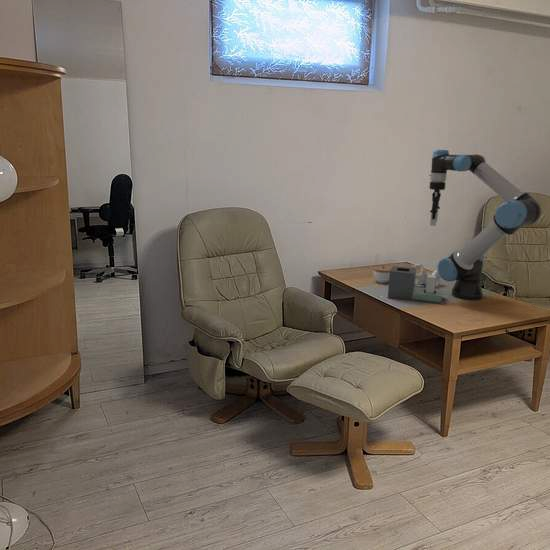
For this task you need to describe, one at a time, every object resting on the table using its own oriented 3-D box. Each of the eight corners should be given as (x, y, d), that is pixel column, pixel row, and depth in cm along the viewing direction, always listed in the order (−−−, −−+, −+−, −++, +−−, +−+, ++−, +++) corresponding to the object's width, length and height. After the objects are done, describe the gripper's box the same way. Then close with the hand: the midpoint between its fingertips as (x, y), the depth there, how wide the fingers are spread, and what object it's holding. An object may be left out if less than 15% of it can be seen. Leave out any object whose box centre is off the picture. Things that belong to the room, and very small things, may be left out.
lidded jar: (368, 280, 305) (369, 264, 302) (381, 278, 311) (382, 262, 308) (382, 285, 296) (384, 268, 294) (395, 282, 303) (397, 266, 300)
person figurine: (429, 262, 305) (413, 261, 292) (449, 271, 297) (433, 271, 284) (421, 283, 309) (404, 283, 296) (440, 293, 301) (424, 293, 288)
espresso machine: (442, 297, 277) (444, 271, 273) (441, 304, 266) (443, 276, 262) (390, 291, 285) (392, 265, 281) (387, 297, 274) (389, 271, 270)
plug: (434, 296, 274) (437, 275, 271) (434, 299, 271) (436, 277, 268) (425, 295, 276) (427, 275, 273) (425, 298, 272) (427, 276, 269)
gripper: (431, 179, 282) (427, 219, 288) (428, 183, 260) (424, 226, 265) (446, 179, 280) (442, 220, 286) (444, 183, 257) (440, 227, 263)
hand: (433, 223), depth 275 cm, fingers open, 13 cm apart
